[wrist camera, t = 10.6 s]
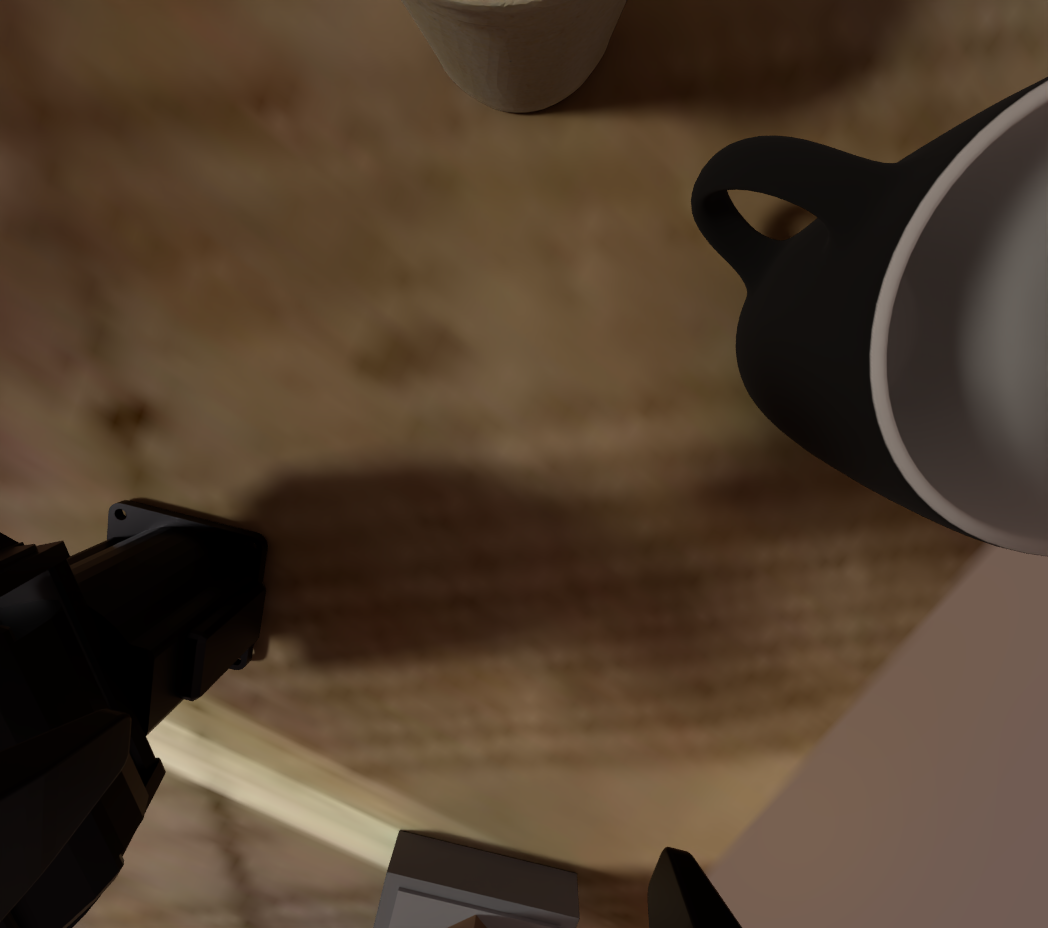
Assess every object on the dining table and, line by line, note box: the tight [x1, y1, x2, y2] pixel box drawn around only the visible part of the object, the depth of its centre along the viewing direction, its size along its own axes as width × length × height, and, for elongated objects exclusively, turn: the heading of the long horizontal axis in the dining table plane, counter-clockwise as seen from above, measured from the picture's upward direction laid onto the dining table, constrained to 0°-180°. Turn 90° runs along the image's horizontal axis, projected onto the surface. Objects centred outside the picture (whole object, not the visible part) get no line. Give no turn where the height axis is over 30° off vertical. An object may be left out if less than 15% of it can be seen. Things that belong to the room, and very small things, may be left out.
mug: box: [691, 77, 1048, 556], centre depth 14 cm, size 12×9×10 cm
